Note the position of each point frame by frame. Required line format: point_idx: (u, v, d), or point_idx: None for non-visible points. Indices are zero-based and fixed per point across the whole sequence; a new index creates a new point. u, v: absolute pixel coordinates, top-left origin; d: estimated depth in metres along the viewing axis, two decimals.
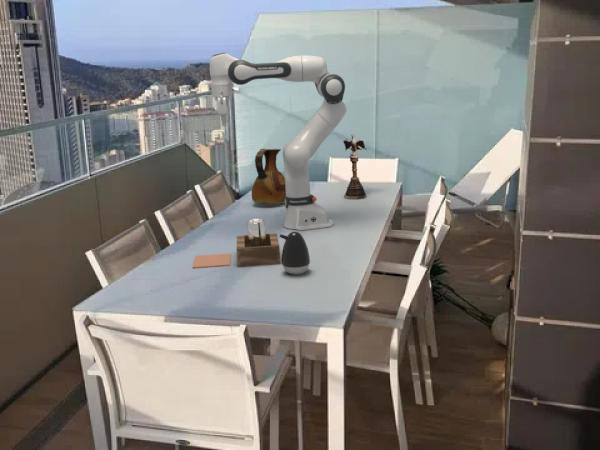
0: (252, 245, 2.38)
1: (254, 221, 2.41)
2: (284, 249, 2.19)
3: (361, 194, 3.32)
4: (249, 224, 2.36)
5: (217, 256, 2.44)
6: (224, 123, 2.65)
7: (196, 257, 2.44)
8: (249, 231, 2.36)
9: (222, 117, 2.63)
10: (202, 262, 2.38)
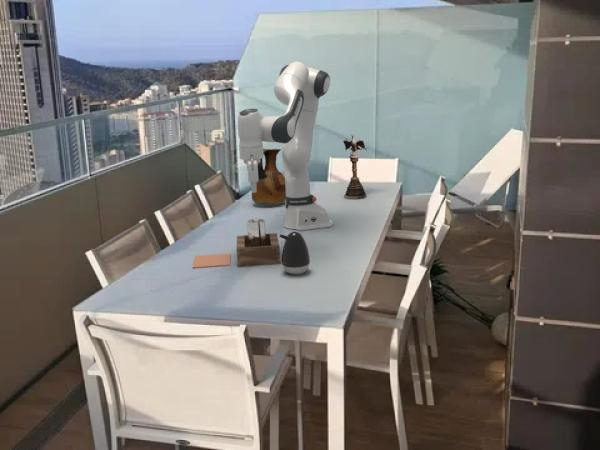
0: (252, 245, 2.38)
1: (254, 221, 2.41)
2: (284, 249, 2.19)
3: (361, 194, 3.32)
4: (249, 224, 2.36)
5: (217, 256, 2.44)
6: (254, 190, 2.29)
7: (196, 257, 2.44)
8: (249, 231, 2.36)
9: (252, 183, 2.27)
10: (202, 262, 2.38)
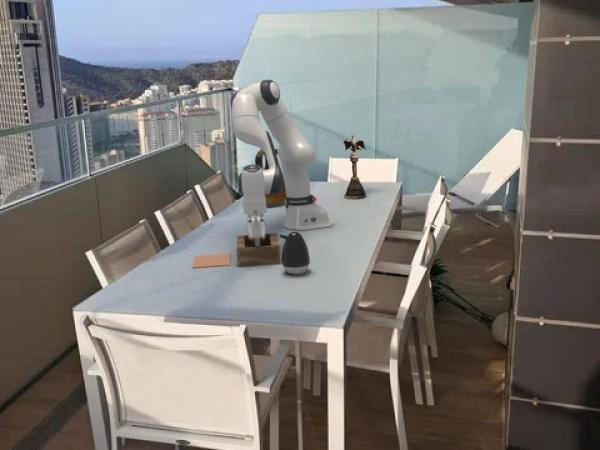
0: (252, 245, 2.38)
1: None
2: (284, 249, 2.19)
3: (361, 194, 3.32)
4: (249, 224, 2.36)
5: (217, 256, 2.44)
6: (258, 243, 2.35)
7: (196, 257, 2.44)
8: (249, 231, 2.36)
9: (256, 237, 2.33)
10: (202, 262, 2.38)
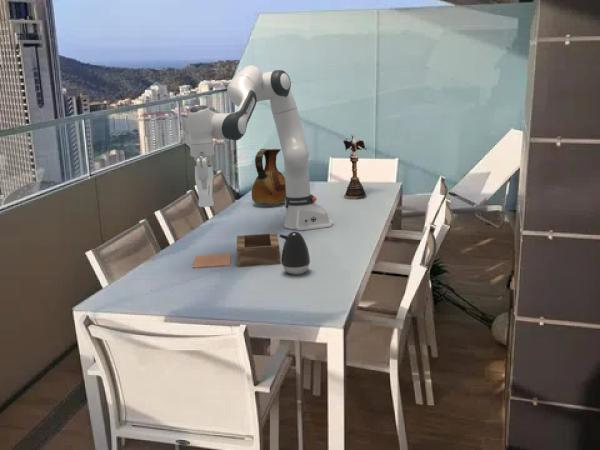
0: (199, 191, 2.31)
1: None
2: (284, 249, 2.19)
3: (361, 194, 3.32)
4: (196, 169, 2.29)
5: (217, 256, 2.44)
6: (205, 187, 2.28)
7: (196, 257, 2.44)
8: (196, 176, 2.29)
9: (202, 180, 2.26)
10: (202, 262, 2.38)
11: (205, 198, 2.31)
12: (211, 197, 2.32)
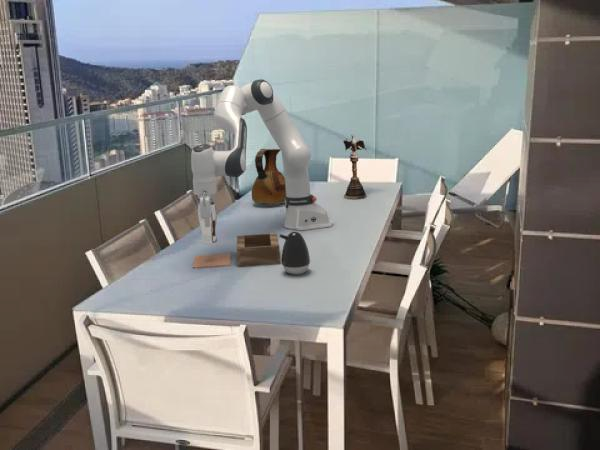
0: (202, 228, 2.34)
1: None
2: (284, 249, 2.19)
3: (361, 194, 3.32)
4: (199, 207, 2.32)
5: (217, 256, 2.44)
6: (208, 224, 2.32)
7: (196, 257, 2.44)
8: (199, 214, 2.33)
9: (205, 218, 2.30)
10: (202, 262, 2.38)
11: (208, 235, 2.35)
12: (214, 234, 2.36)
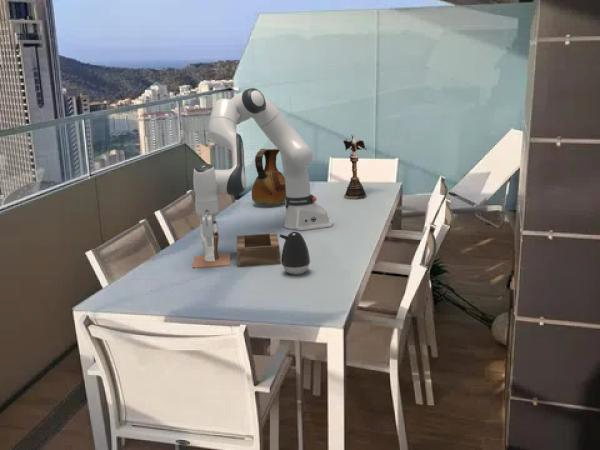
0: (205, 247, 2.36)
1: None
2: (284, 249, 2.19)
3: (361, 194, 3.32)
4: (201, 226, 2.34)
5: None
6: (210, 244, 2.33)
7: (196, 257, 2.44)
8: (201, 233, 2.35)
9: (207, 238, 2.31)
10: (202, 262, 2.38)
11: (211, 254, 2.37)
12: (216, 252, 2.38)
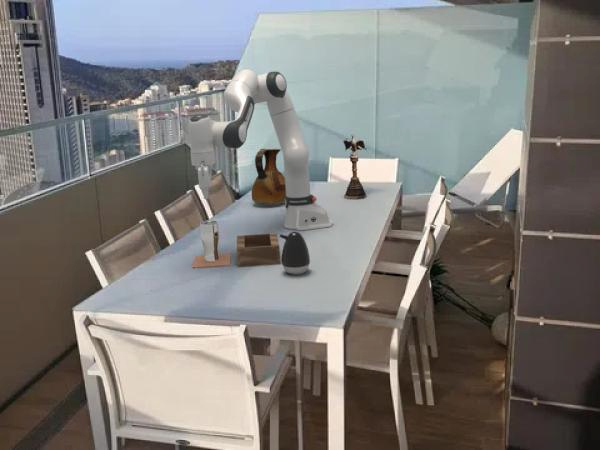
0: (205, 247, 2.36)
1: (207, 223, 2.39)
2: (284, 249, 2.19)
3: (361, 194, 3.32)
4: (201, 226, 2.34)
5: None
6: (206, 196, 2.28)
7: (196, 257, 2.44)
8: (201, 233, 2.35)
9: (204, 190, 2.26)
10: (202, 262, 2.38)
11: (211, 254, 2.37)
12: (216, 252, 2.38)
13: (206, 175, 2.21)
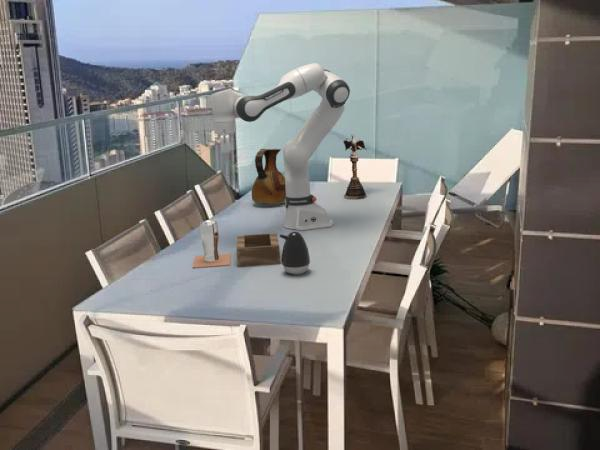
0: (205, 247, 2.36)
1: (207, 223, 2.39)
2: (284, 249, 2.19)
3: (361, 194, 3.32)
4: (201, 226, 2.34)
5: None
6: (227, 162, 2.51)
7: (196, 257, 2.44)
8: (201, 233, 2.35)
9: (225, 155, 2.50)
10: (202, 262, 2.38)
11: (210, 254, 2.37)
12: (216, 252, 2.38)
13: (228, 142, 2.45)
